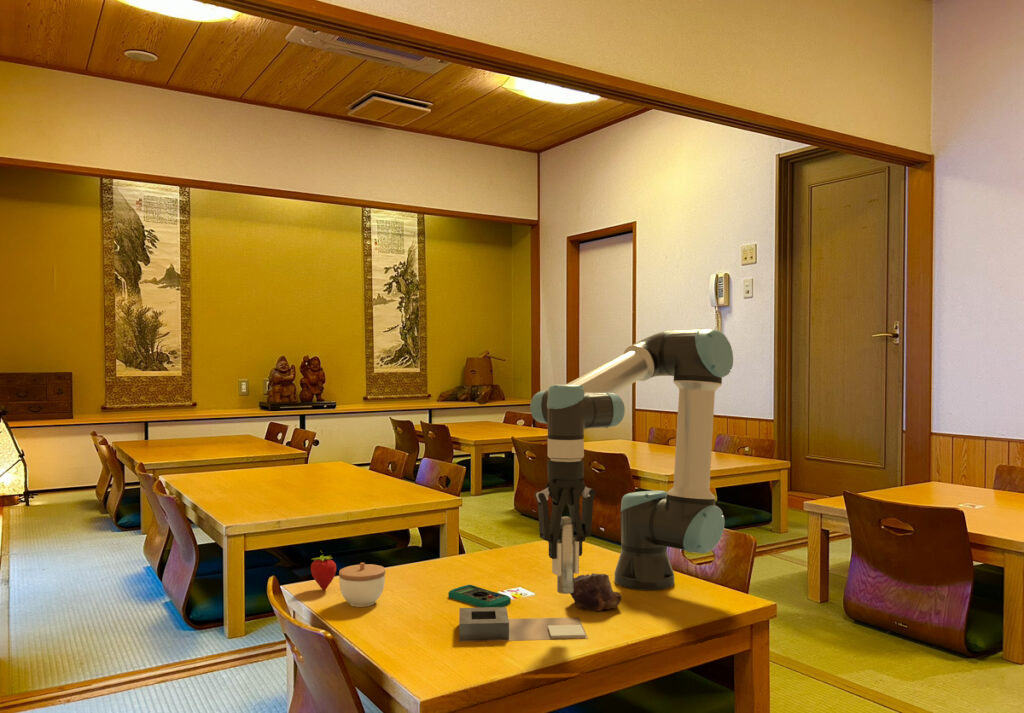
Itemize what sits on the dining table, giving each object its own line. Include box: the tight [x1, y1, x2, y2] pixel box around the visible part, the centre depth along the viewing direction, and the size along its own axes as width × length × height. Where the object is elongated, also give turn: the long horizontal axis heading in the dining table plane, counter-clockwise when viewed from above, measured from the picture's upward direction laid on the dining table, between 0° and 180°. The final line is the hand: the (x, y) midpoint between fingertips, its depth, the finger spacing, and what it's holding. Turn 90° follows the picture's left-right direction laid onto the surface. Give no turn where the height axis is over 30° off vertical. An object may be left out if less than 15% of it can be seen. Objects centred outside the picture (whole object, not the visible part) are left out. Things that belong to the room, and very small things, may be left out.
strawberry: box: [310, 550, 337, 591], centre depth 191 cm, size 6×8×10 cm
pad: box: [548, 625, 585, 639], centre depth 158 cm, size 7×6×1 cm
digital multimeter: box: [447, 584, 512, 608], centre depth 180 cm, size 7×15×3 cm, turn 46°
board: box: [458, 616, 589, 643], centre depth 161 cm, size 26×13×1 cm, turn 93°
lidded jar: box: [338, 562, 386, 608], centre depth 181 cm, size 11×11×9 cm
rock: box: [570, 573, 622, 612], centre depth 175 cm, size 12×9×10 cm
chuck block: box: [458, 606, 509, 641], centre depth 159 cm, size 10×10×3 cm
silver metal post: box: [556, 515, 575, 595], centre depth 158 cm, size 3×3×15 cm
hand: (565, 572), depth 158 cm, fingers closed on silver metal post, 3 cm apart
